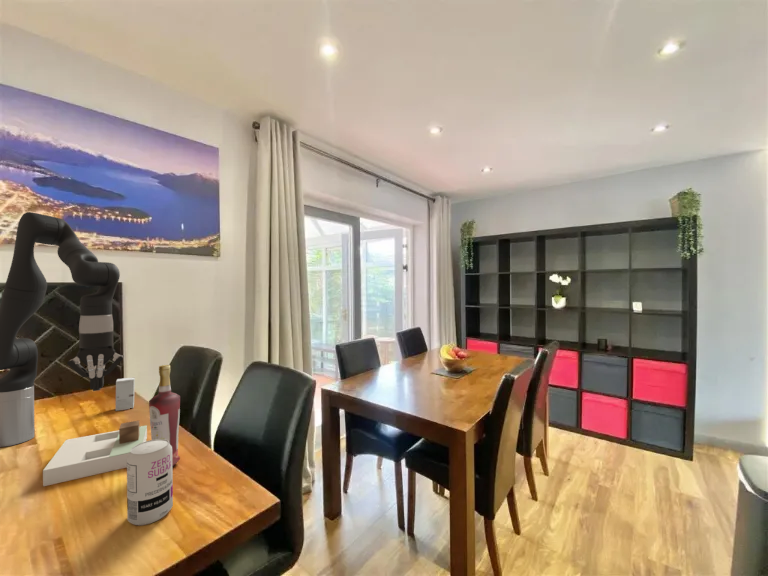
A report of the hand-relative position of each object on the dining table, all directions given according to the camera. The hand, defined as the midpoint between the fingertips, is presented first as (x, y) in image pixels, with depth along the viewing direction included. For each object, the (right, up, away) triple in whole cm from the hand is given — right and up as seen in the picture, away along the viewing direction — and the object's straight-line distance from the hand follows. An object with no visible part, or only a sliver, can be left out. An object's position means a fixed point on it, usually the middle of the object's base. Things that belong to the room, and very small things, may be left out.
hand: (96, 389), depth 97 cm
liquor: (+23, -20, -4) cm, 31 cm away
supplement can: (+32, -20, -24) cm, 45 cm away
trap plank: (+1, -20, +1) cm, 20 cm away
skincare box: (-24, -21, +42) cm, 52 cm away
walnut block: (+6, -16, +4) cm, 18 cm away
